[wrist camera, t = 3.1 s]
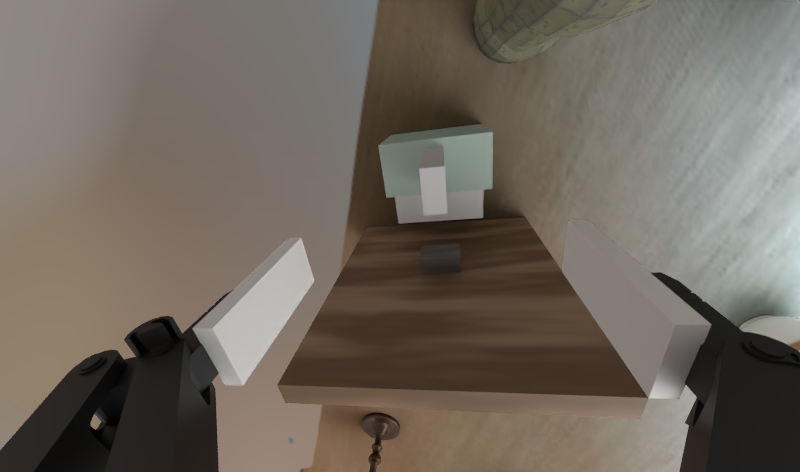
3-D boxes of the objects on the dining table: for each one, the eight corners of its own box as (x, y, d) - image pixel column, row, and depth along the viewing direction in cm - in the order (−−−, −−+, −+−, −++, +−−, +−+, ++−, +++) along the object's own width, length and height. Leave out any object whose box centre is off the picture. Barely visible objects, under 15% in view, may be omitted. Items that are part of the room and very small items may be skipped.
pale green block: (391, 134, 39) (356, 162, 23) (481, 123, 37) (512, 145, 21) (400, 200, 43) (375, 262, 27) (482, 193, 41) (508, 256, 25)
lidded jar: (737, 300, 43) (808, 350, 35) (821, 305, 42) (916, 357, 33) (706, 351, 48) (761, 405, 40) (780, 357, 46) (854, 414, 38)
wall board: (363, 209, 45) (263, 355, 20) (526, 197, 40) (661, 361, 16) (374, 269, 49) (306, 448, 24) (522, 263, 45) (621, 472, 20)
